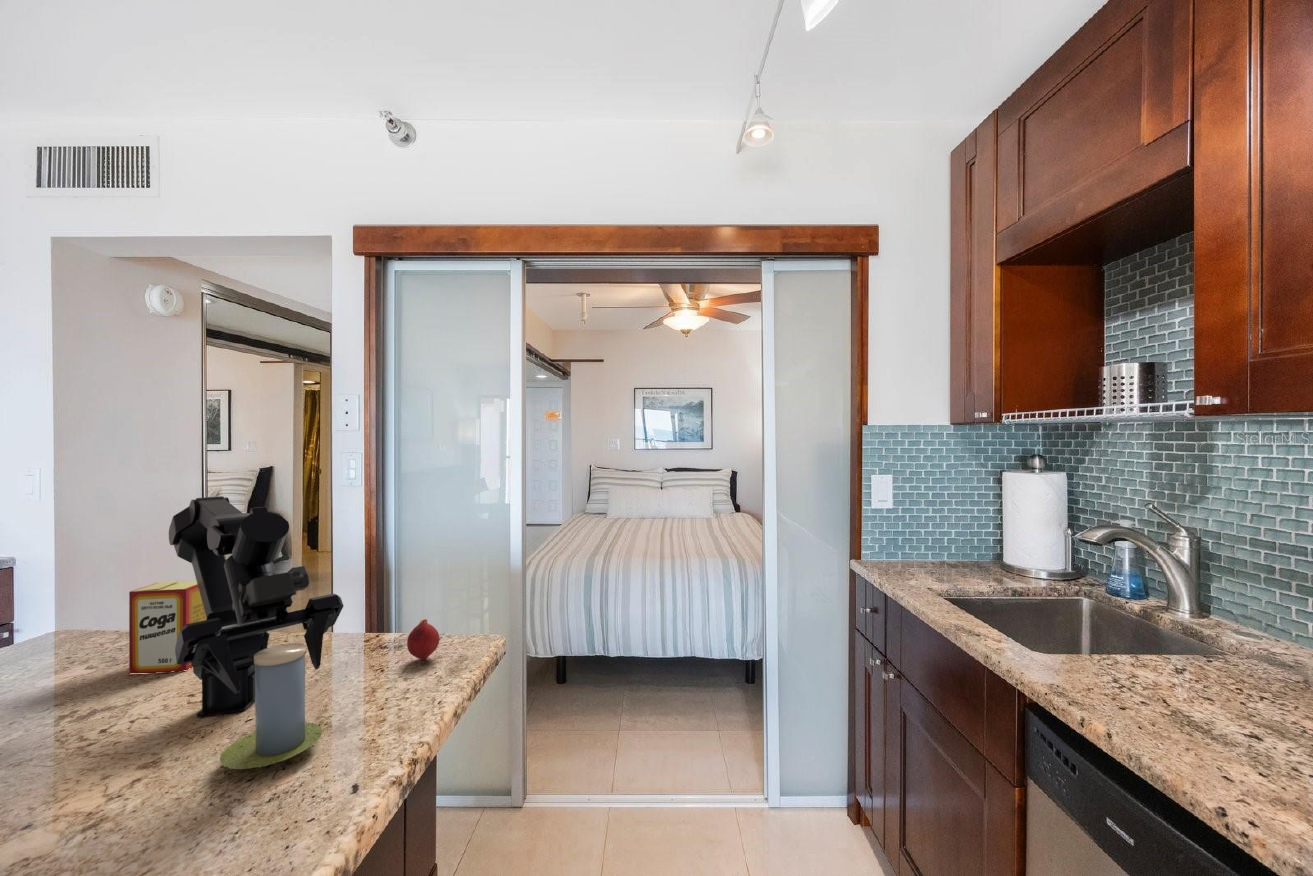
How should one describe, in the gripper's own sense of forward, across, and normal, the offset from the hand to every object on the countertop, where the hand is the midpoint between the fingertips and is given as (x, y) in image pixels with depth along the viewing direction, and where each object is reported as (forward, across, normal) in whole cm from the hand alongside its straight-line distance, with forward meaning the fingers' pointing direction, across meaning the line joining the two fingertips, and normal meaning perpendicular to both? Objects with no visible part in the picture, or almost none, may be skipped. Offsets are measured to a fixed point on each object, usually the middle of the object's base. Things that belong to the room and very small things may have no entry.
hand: (280, 679), depth 72 cm
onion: (-4, +29, +19) cm, 35 cm away
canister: (+6, 0, +6) cm, 9 cm away
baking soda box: (-30, -2, +46) cm, 55 cm away
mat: (+7, -1, +8) cm, 11 cm away
